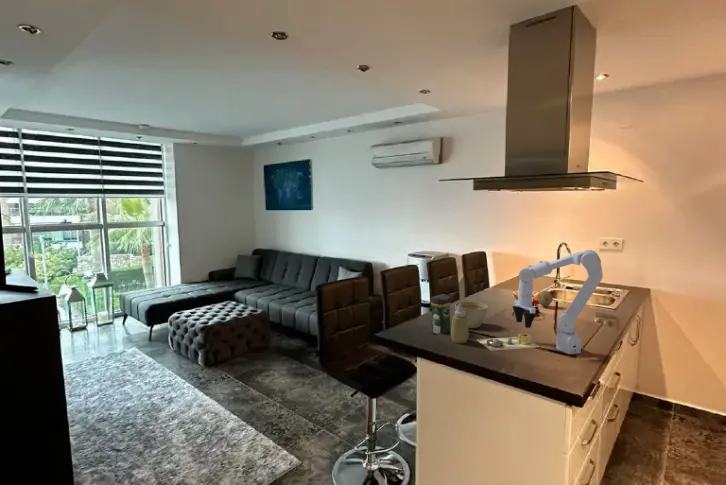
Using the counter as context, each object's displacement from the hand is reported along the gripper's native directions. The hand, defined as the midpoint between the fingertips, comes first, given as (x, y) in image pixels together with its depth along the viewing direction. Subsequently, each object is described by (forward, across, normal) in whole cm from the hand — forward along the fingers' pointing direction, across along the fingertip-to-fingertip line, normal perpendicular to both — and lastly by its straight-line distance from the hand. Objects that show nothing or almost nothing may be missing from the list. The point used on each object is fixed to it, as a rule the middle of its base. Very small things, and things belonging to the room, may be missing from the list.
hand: (523, 324), depth 179 cm
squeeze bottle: (+10, -6, -27) cm, 29 cm away
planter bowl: (+10, -29, -12) cm, 33 cm away
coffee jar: (+10, -21, -31) cm, 39 cm away
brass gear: (+8, +1, 0) cm, 8 cm away
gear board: (+9, 0, -7) cm, 12 cm away
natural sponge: (+9, -59, +45) cm, 75 cm away
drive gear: (+8, +2, -14) cm, 16 cm away
